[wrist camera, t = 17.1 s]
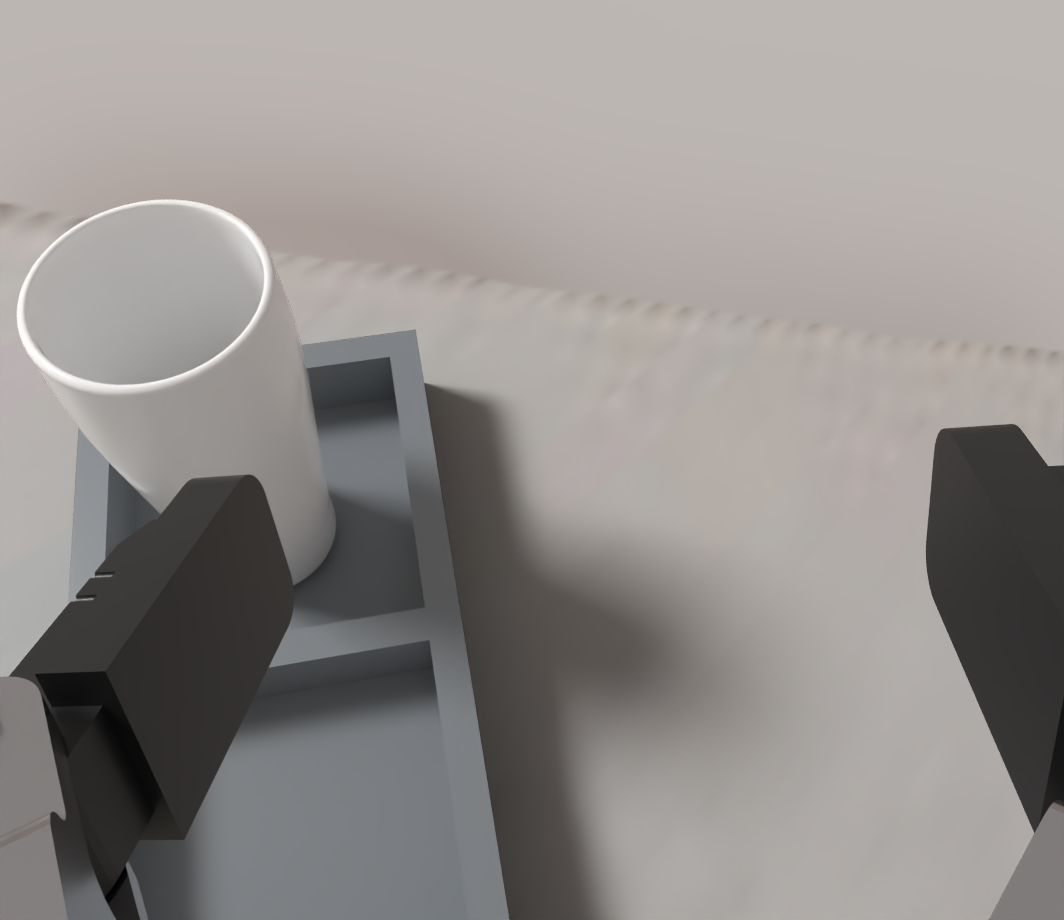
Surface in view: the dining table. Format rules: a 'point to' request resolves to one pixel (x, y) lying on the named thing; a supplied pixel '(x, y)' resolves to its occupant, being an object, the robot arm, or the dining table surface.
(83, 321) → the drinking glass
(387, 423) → the divided tray
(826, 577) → the dining table surface
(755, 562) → the dining table surface
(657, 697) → the dining table surface
